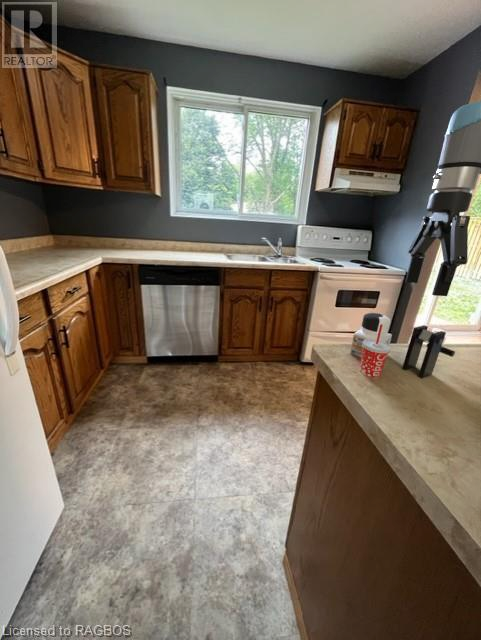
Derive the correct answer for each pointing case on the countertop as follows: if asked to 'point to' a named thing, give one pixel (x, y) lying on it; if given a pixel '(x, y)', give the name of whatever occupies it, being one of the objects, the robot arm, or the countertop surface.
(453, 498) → the countertop surface
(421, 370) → the bracket
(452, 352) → the lever
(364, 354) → the beverage cup
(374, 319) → the container
